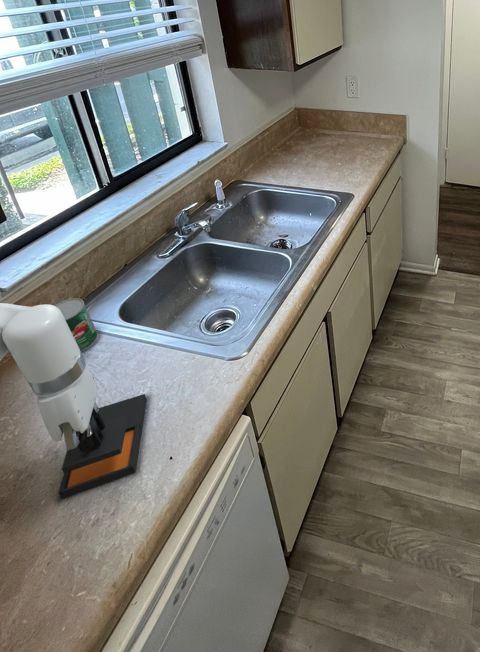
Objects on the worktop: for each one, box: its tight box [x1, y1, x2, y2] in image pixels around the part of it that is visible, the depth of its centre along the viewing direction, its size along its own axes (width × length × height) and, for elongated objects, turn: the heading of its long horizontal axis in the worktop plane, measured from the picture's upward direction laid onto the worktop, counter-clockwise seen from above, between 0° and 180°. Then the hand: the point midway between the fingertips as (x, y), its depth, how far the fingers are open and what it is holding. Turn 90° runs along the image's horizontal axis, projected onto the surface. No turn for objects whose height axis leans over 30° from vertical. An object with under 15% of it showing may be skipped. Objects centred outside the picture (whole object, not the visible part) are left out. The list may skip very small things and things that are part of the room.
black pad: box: [61, 414, 128, 474], centre depth 81 cm, size 9×7×7 cm
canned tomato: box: [54, 297, 99, 353], centre depth 108 cm, size 8×8×11 cm
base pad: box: [57, 393, 148, 499], centre depth 87 cm, size 12×16×2 cm
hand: (93, 438), depth 81 cm, fingers closed on black pad, 2 cm apart
